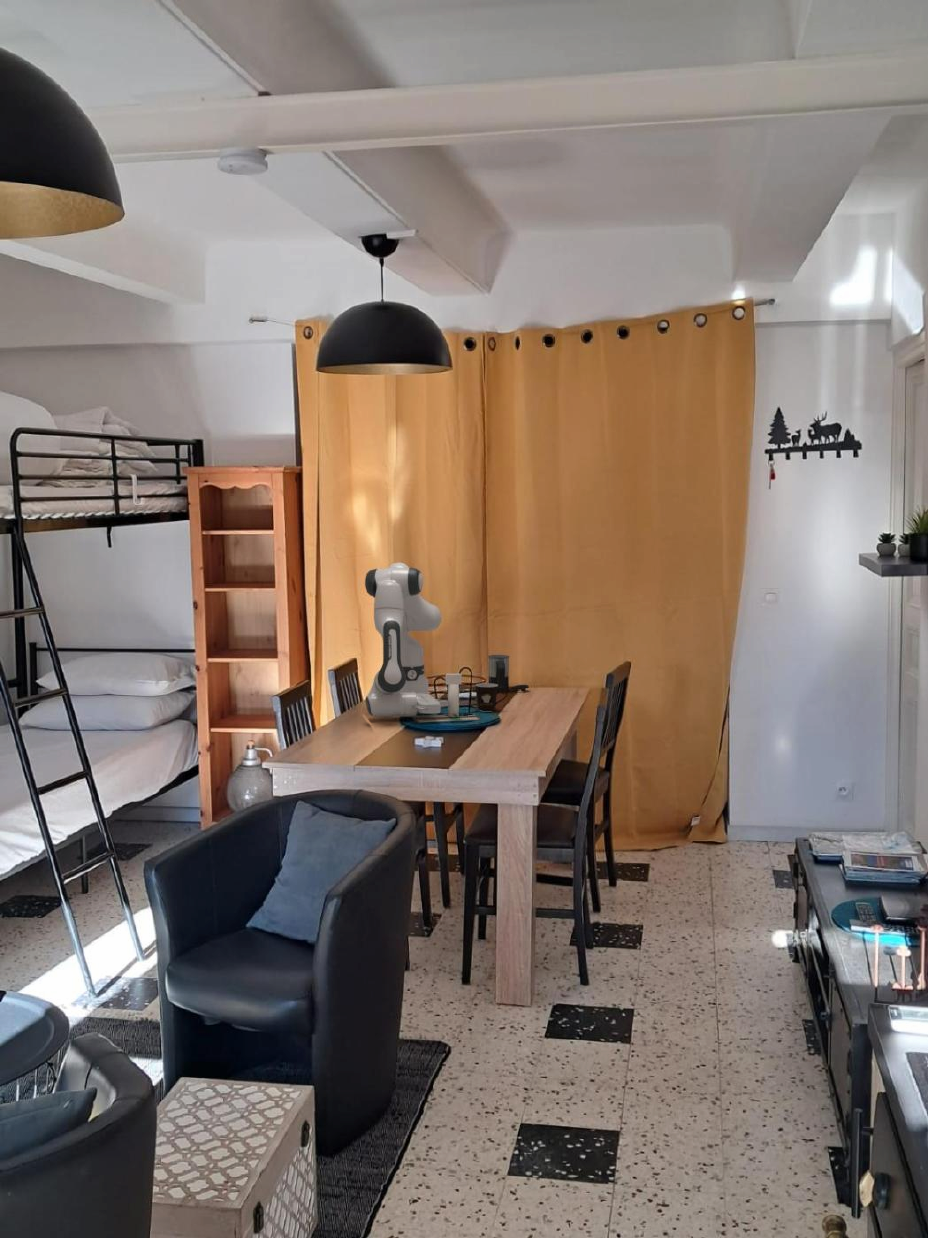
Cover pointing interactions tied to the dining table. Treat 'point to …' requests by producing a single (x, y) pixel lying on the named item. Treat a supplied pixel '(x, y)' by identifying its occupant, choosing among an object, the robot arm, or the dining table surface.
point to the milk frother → (501, 673)
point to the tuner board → (443, 718)
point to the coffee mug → (487, 696)
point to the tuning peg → (453, 693)
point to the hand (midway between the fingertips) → (447, 703)
